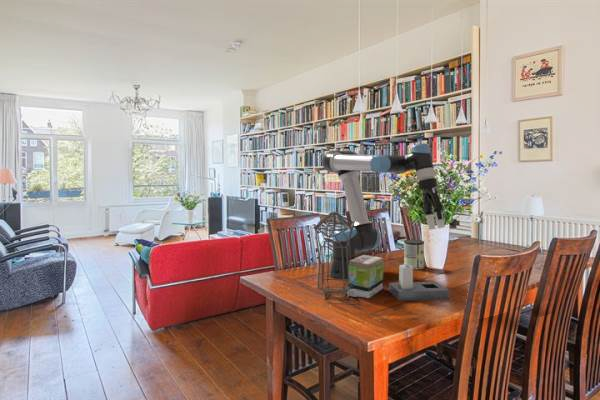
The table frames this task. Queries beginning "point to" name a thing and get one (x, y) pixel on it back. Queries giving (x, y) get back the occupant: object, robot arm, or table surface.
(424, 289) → the block
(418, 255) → the coffee can
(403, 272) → the plug
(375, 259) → the tea box
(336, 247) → the geometric lantern
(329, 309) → the table surface
